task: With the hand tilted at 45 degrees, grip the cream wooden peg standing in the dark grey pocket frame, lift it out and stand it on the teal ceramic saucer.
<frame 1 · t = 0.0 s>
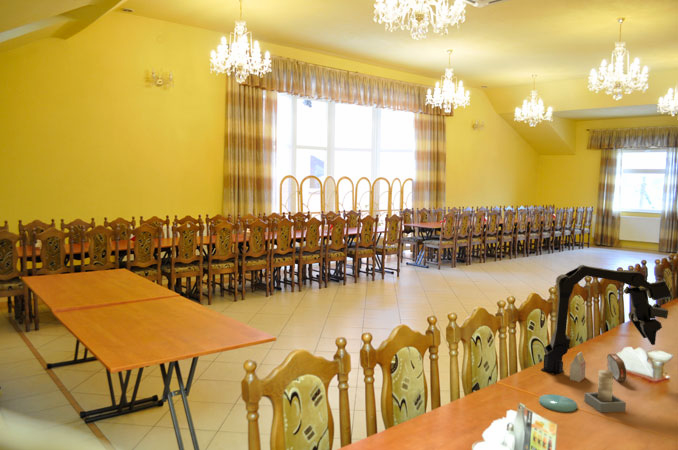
hand: (649, 341, 196), 15 cm above the table, tool pointing down, fingers open, 9 cm apart
saucer: (557, 404, 174), on the table
tin: (615, 377, 200), on the table
peg: (605, 389, 173), in the pocket
milk carton: (577, 378, 199), on the table
pocket: (604, 406, 173), on the table
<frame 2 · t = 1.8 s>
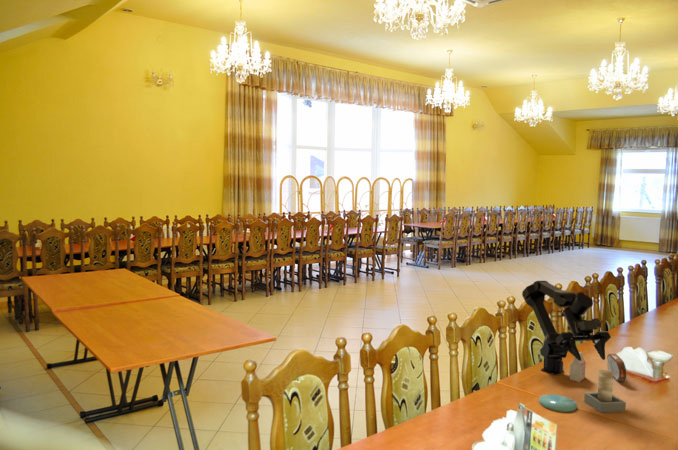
hand: (592, 359, 180), 13 cm above the table, tool tilted 45°, fingers open, 9 cm apart
nothing on the table moved.
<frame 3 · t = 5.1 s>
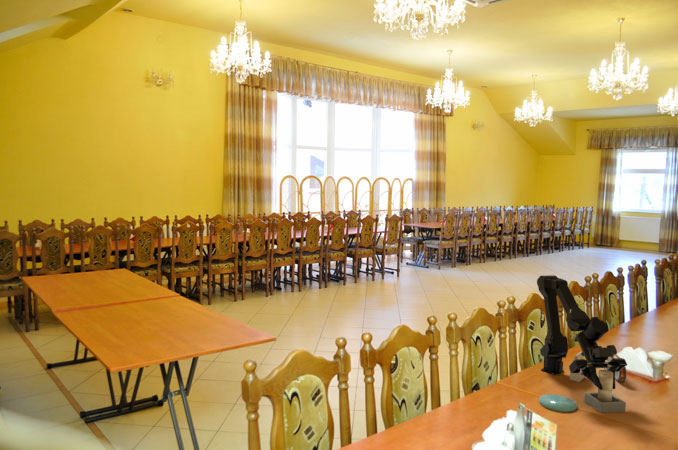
hand: (607, 389, 171), 7 cm above the table, tool tilted 45°, fingers closed on peg, 4 cm apart
peg: (605, 389, 173), in the pocket, touching gripper
everything else where it was.
when the fingers open (9 cm above the table, at t = 9.5 s): peg drops 1 cm, resting on saucer.
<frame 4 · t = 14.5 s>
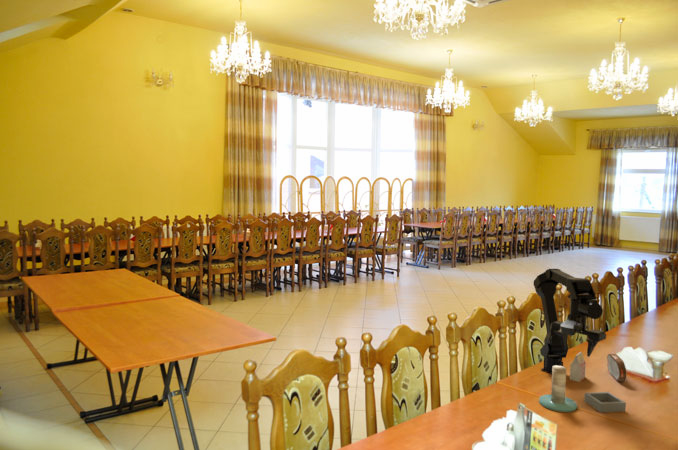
hand: (576, 353, 189), 13 cm above the table, tool pointing down, fingers open, 9 cm apart
peg: (558, 384, 174), on the saucer, point 7 cm above the table
everything else where it was.
at the end: peg 0.0 cm off-centre on the saucer, point 7.0 cm above the saucer's base; peg tilted 0°; the gripper is holding nothing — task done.
